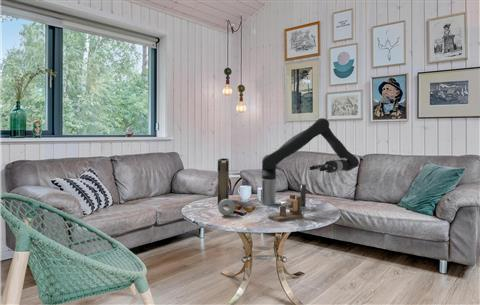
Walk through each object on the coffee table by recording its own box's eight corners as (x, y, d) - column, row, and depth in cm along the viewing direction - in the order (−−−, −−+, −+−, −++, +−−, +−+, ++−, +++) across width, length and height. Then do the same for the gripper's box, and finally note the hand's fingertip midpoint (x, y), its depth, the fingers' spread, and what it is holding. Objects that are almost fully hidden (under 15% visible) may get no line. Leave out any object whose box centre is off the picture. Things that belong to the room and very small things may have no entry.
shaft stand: (268, 218, 203) (268, 197, 203) (292, 214, 214) (292, 194, 214) (278, 221, 196) (279, 200, 195) (303, 217, 207) (303, 196, 206)
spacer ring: (286, 208, 210) (286, 198, 209) (288, 208, 211) (289, 198, 211) (294, 210, 204) (295, 200, 204) (297, 210, 205) (297, 200, 205)
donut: (218, 216, 207) (218, 199, 206) (217, 215, 210) (217, 198, 209) (235, 216, 208) (235, 199, 207) (234, 214, 211) (234, 198, 211)
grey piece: (279, 209, 204) (280, 186, 203) (302, 205, 215) (303, 184, 214) (283, 210, 202) (283, 187, 201) (306, 206, 212) (307, 184, 212)
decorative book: (228, 205, 237) (228, 160, 235) (217, 205, 237) (217, 160, 235) (229, 198, 260) (229, 157, 258) (219, 198, 260) (219, 157, 258)
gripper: (324, 159, 232) (306, 162, 223) (342, 160, 220) (323, 163, 211) (325, 171, 232) (306, 174, 223) (342, 173, 220) (324, 176, 211)
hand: (315, 168), depth 217 cm, fingers open, 8 cm apart
